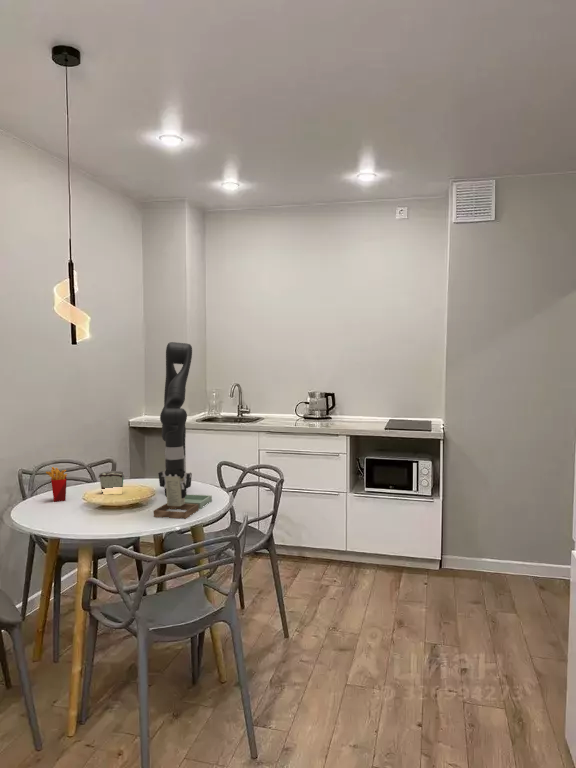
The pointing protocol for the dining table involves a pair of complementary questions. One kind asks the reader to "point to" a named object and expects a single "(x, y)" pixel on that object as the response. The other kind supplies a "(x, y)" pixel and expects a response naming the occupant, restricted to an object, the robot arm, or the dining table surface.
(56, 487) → the french fries
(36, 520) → the dining table surface
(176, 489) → the skincare box
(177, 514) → the walnut bin
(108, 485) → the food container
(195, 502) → the green tray
